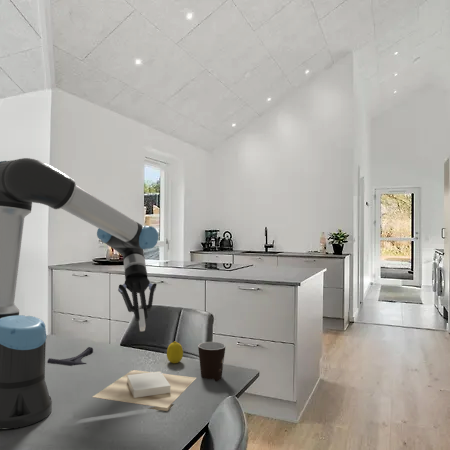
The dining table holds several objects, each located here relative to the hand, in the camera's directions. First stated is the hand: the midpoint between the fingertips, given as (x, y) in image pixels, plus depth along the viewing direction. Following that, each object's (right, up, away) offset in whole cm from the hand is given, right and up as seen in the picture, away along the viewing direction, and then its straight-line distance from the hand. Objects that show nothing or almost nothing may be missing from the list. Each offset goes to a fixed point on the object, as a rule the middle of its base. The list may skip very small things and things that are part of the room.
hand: (142, 328), depth 126 cm
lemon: (+9, -15, +12) cm, 21 cm away
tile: (+1, -13, -5) cm, 14 cm away
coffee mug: (+22, -16, +2) cm, 27 cm away
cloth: (+3, -15, -10) cm, 18 cm away
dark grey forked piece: (-26, -16, +18) cm, 35 cm away
